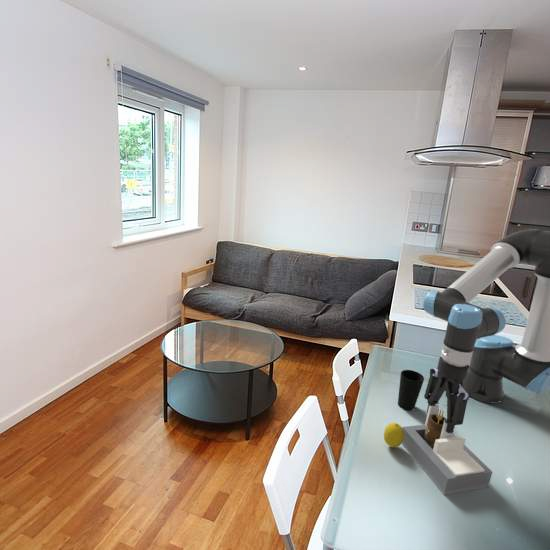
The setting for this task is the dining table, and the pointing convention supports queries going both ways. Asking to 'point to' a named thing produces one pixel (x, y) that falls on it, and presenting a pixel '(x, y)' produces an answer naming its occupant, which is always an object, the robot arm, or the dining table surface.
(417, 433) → the socket block
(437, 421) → the utensil holder
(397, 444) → the lemon
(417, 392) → the cup
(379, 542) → the dining table surface
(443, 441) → the panel
